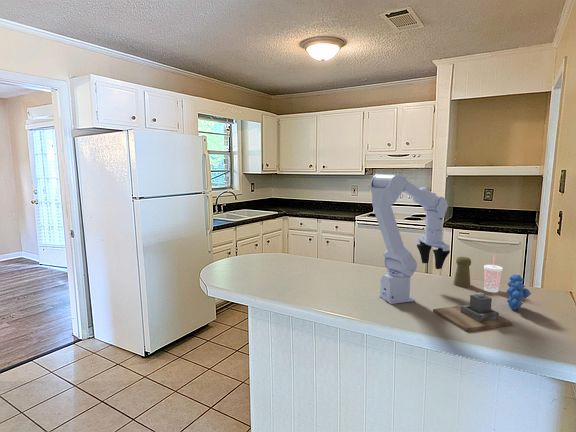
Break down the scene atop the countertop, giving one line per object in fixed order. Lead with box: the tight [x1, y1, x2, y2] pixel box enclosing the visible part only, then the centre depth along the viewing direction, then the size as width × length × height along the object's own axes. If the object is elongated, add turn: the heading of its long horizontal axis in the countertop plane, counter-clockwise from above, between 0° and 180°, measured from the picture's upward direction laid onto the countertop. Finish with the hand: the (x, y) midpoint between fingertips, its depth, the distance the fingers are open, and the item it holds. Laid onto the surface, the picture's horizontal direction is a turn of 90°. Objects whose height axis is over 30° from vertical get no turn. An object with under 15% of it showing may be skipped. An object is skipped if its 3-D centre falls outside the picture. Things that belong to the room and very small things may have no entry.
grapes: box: [505, 273, 532, 311], centre depth 113 cm, size 12×7×12 cm, turn 157°
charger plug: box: [469, 292, 493, 314], centre depth 107 cm, size 4×4×7 cm
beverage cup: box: [483, 253, 504, 293], centre depth 131 cm, size 6×6×14 cm
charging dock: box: [432, 303, 513, 333], centre depth 108 cm, size 16×14×3 cm
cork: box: [453, 256, 472, 288], centre depth 137 cm, size 6×6×11 cm
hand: (431, 265), depth 130 cm, fingers open, 7 cm apart
